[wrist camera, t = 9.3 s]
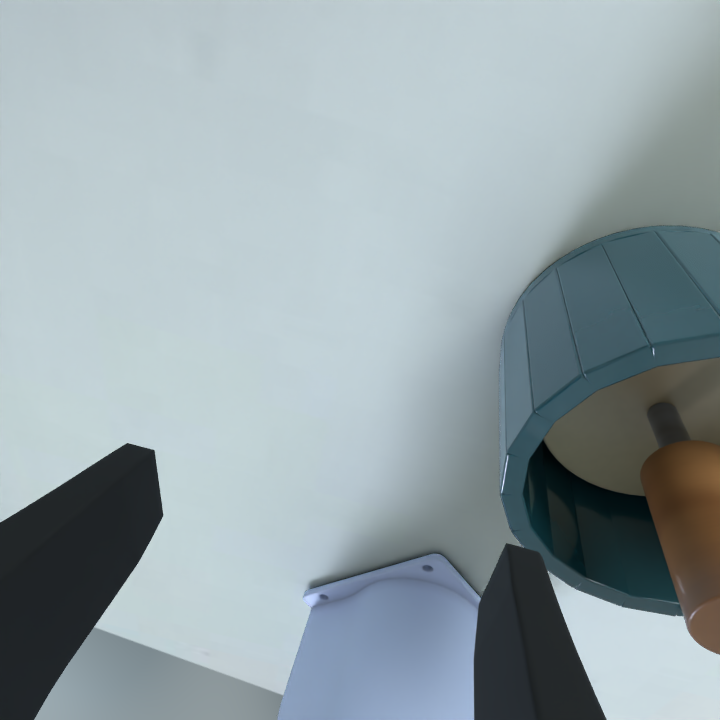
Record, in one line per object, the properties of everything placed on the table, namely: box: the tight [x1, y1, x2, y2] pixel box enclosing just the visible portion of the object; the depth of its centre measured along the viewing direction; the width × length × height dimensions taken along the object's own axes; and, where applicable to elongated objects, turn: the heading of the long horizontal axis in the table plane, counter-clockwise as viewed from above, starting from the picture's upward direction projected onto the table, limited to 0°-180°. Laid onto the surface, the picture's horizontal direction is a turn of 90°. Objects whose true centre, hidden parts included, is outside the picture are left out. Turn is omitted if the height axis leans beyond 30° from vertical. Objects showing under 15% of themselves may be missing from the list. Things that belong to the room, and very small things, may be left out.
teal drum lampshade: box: [499, 226, 720, 616], centre depth 15 cm, size 9×9×7 cm
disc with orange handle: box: [543, 358, 720, 655], centre depth 14 cm, size 7×7×9 cm
